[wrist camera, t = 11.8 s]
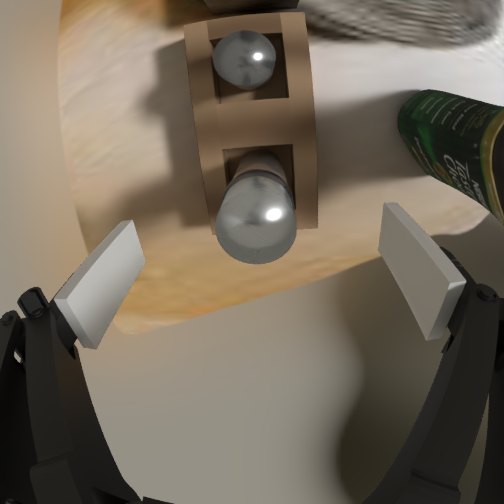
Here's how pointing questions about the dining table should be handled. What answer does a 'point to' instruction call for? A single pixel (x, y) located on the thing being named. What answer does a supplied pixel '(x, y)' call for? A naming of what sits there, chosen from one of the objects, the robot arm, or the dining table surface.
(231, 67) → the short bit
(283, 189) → the grey metal cylinder
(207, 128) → the rack
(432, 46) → the dining table surface
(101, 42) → the dining table surface
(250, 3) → the socket block
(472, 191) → the coffee jar
